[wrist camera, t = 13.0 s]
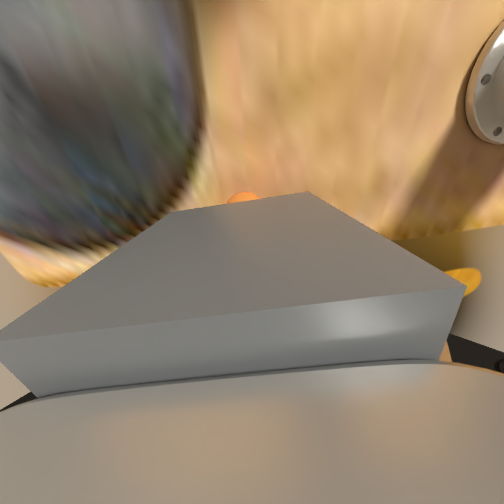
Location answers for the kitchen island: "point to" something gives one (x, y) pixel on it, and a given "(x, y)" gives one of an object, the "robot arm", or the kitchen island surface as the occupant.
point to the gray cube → (235, 301)
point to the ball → (243, 197)
